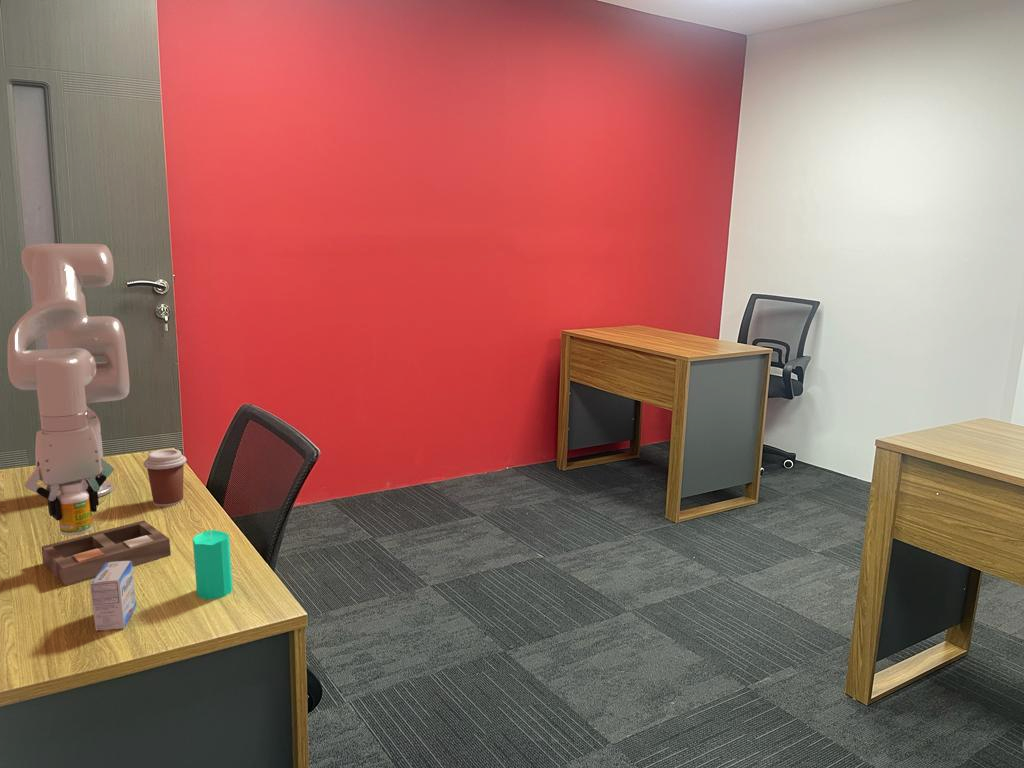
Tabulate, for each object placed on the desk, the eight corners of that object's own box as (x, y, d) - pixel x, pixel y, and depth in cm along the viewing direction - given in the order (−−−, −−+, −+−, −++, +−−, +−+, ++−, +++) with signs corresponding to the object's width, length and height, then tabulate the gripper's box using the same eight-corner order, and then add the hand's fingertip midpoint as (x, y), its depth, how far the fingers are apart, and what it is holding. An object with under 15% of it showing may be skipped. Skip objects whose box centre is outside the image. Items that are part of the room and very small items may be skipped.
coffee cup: (178, 492, 187) (174, 445, 184) (196, 501, 181) (193, 453, 178) (140, 502, 180) (135, 453, 177) (157, 512, 174) (153, 461, 171)
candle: (196, 586, 139) (191, 525, 137) (231, 581, 142) (227, 520, 139) (197, 601, 134) (192, 537, 131) (233, 595, 136) (229, 532, 134)
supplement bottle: (78, 537, 143) (73, 488, 141) (53, 534, 144) (47, 485, 142) (99, 526, 148) (94, 478, 146) (75, 524, 149) (69, 476, 147)
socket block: (43, 563, 148) (41, 544, 147) (145, 536, 161) (143, 518, 160) (64, 586, 139) (62, 566, 138) (170, 555, 152) (169, 537, 151)
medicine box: (124, 629, 125) (119, 580, 123) (94, 632, 124) (89, 582, 122) (137, 606, 132) (132, 559, 130) (109, 608, 131) (104, 561, 129)
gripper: (107, 410, 150) (115, 498, 154) (5, 426, 138) (17, 520, 142) (121, 417, 145) (129, 508, 149) (17, 434, 133) (29, 532, 137)
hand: (74, 513), depth 145 cm, fingers closed on supplement bottle, 5 cm apart
